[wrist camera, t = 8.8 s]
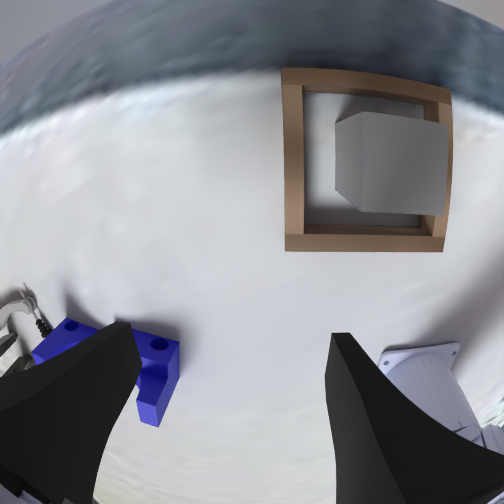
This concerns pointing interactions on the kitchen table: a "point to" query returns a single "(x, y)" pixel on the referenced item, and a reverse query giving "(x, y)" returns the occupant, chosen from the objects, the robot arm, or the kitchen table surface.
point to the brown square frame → (296, 231)
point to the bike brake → (6, 341)
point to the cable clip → (152, 372)
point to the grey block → (392, 163)
